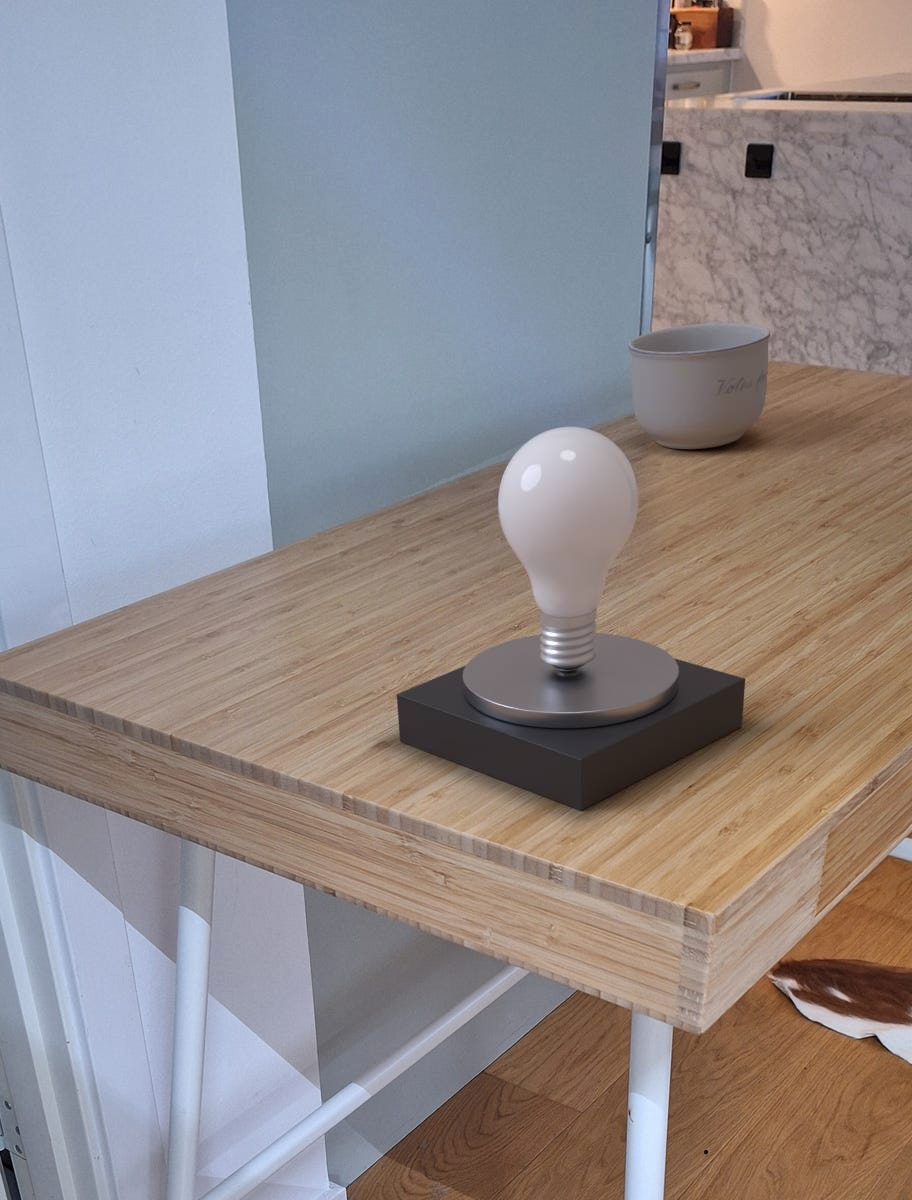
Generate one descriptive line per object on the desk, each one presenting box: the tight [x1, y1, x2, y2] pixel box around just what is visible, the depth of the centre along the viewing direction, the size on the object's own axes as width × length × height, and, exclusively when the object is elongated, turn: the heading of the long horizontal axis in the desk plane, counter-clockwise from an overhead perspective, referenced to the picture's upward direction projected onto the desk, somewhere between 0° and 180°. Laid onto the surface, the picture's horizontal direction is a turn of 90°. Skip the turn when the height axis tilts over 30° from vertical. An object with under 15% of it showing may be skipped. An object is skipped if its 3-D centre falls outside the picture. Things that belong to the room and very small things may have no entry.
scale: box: [396, 633, 746, 811], centre depth 72 cm, size 12×12×2 cm
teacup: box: [627, 320, 771, 450], centre depth 117 cm, size 14×11×8 cm
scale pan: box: [463, 632, 679, 729], centre depth 71 cm, size 10×10×1 cm
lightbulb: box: [497, 426, 640, 671], centre depth 68 cm, size 6×6×11 cm
